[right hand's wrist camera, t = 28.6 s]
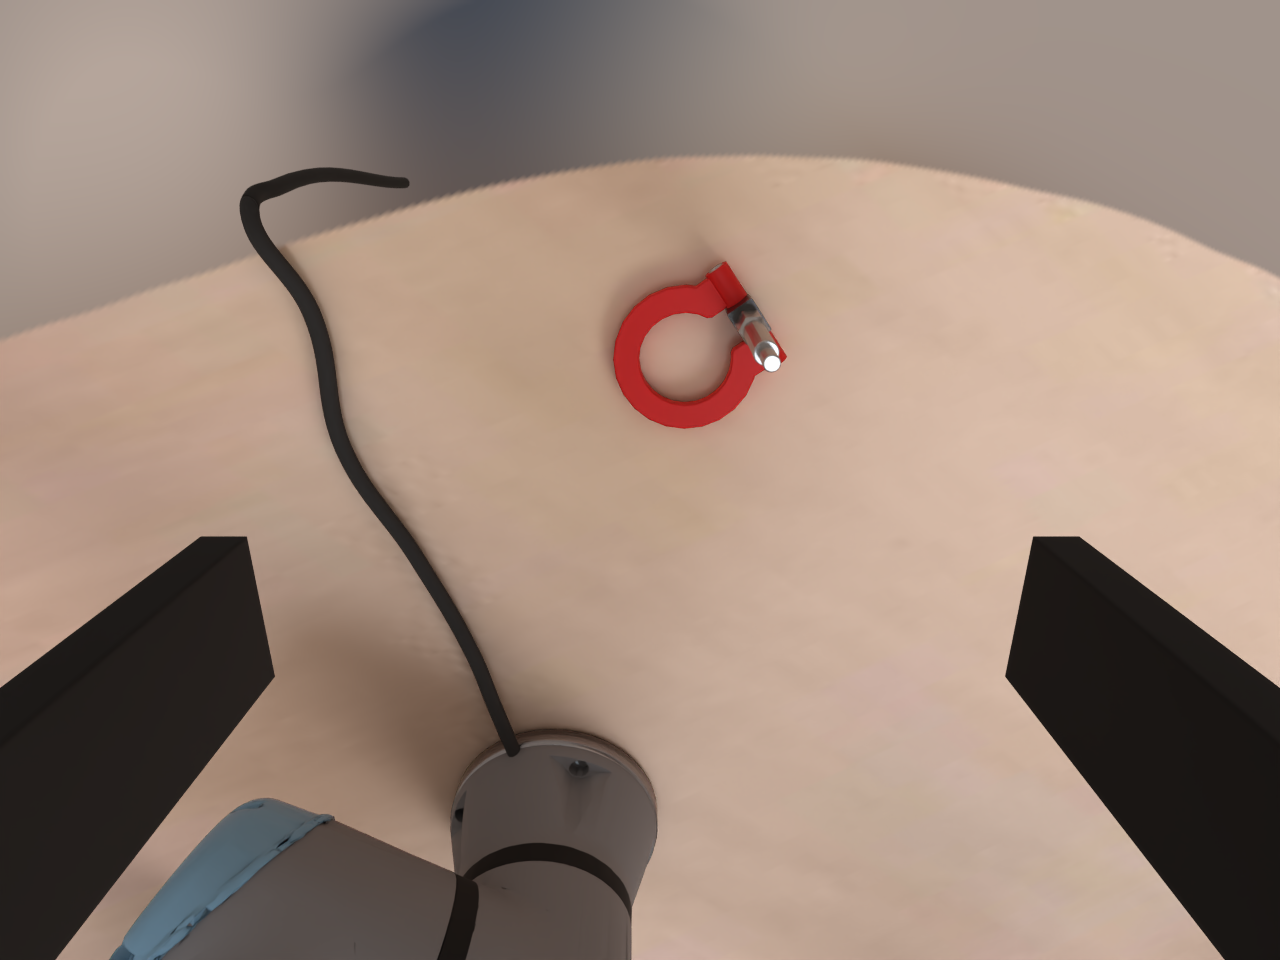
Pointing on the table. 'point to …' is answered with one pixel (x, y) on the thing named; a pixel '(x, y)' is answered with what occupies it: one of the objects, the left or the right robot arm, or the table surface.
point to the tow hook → (707, 302)
